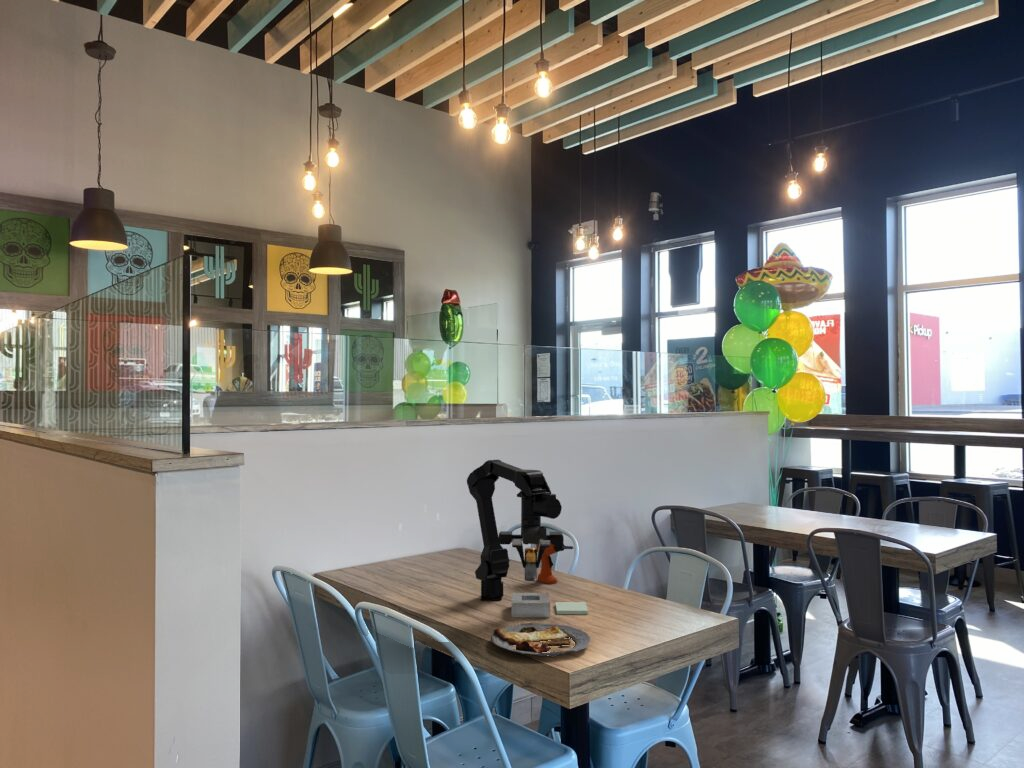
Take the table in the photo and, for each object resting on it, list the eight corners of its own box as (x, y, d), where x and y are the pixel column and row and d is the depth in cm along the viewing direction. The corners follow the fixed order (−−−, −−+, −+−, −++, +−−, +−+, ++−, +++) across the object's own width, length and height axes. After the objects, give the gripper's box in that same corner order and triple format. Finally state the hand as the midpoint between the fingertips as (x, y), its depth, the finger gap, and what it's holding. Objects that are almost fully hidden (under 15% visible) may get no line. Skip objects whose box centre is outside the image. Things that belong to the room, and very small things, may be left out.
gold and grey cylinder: (524, 581, 223) (524, 550, 223) (524, 578, 226) (524, 547, 226) (537, 581, 223) (537, 550, 223) (536, 578, 226) (536, 547, 226)
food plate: (504, 664, 181) (505, 649, 181) (480, 635, 203) (480, 622, 203) (603, 656, 188) (604, 642, 188) (569, 629, 210) (570, 616, 210)
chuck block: (511, 617, 219) (511, 603, 219) (512, 606, 230) (511, 593, 230) (550, 617, 219) (550, 603, 219) (548, 606, 230) (548, 592, 230)
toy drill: (570, 587, 247) (566, 539, 249) (534, 583, 262) (531, 538, 264) (581, 584, 250) (577, 537, 252) (545, 580, 265) (542, 536, 267)
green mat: (556, 614, 222) (556, 610, 222) (555, 605, 231) (555, 602, 231) (588, 614, 222) (588, 610, 222) (585, 605, 231) (585, 602, 231)
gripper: (498, 518, 217) (497, 574, 217) (564, 519, 216) (564, 574, 216) (499, 512, 228) (499, 565, 228) (562, 512, 228) (562, 565, 228)
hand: (530, 567), depth 225 cm, fingers closed on gold and grey cylinder, 4 cm apart
